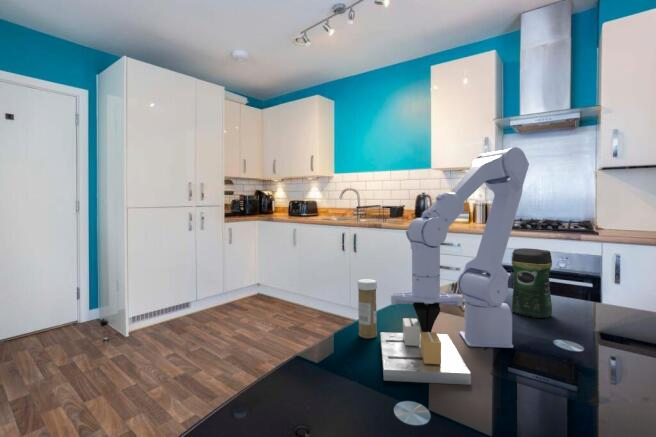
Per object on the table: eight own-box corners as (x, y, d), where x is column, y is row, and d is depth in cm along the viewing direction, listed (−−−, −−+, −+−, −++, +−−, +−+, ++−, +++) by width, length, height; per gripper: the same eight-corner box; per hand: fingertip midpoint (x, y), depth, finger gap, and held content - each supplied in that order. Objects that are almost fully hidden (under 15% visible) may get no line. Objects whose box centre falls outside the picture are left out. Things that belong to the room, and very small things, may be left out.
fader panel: (447, 343, 77) (447, 333, 77) (470, 384, 60) (470, 372, 59) (380, 340, 79) (380, 331, 79) (383, 380, 61) (383, 368, 61)
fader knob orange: (435, 352, 67) (435, 331, 67) (441, 364, 63) (441, 341, 62) (420, 351, 68) (420, 331, 68) (424, 363, 63) (424, 341, 63)
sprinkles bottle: (381, 336, 82) (380, 280, 81) (366, 340, 79) (365, 283, 79) (368, 330, 86) (368, 277, 85) (354, 334, 83) (353, 279, 83)
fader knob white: (416, 336, 76) (416, 317, 76) (420, 345, 71) (420, 325, 71) (402, 336, 76) (402, 317, 76) (405, 345, 71) (405, 325, 71)
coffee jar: (555, 315, 96) (556, 249, 95) (544, 321, 91) (545, 251, 90) (519, 307, 103) (519, 246, 102) (507, 312, 98) (507, 248, 97)
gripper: (392, 278, 69) (392, 343, 70) (466, 279, 68) (466, 346, 68) (390, 271, 76) (390, 331, 77) (457, 272, 75) (457, 333, 75)
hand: (425, 337), depth 73 cm, fingers closed
